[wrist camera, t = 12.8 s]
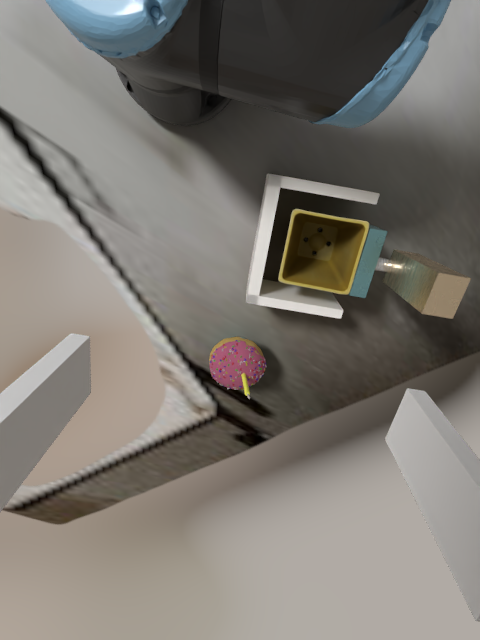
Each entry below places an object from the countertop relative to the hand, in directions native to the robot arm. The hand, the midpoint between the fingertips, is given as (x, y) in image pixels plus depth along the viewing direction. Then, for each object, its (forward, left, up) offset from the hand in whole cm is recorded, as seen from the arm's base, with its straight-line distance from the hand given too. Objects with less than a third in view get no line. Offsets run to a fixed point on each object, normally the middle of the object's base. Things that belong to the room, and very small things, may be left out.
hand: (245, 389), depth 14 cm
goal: (-1, +7, -37) cm, 37 cm away
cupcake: (+18, +1, -37) cm, 41 cm away
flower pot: (-1, +9, -37) cm, 38 cm away
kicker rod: (-1, +16, -36) cm, 39 cm away
